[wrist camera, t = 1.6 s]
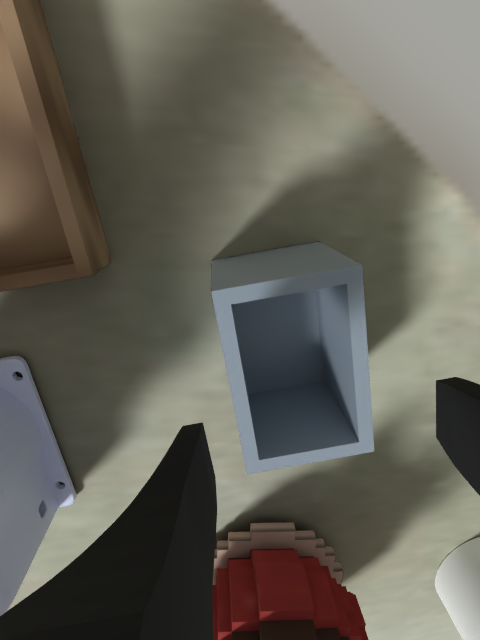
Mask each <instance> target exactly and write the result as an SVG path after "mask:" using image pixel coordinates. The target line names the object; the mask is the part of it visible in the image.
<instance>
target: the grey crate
mask: <svg viewBox="0 0 480 640" xmlns="http://www.w3.org/2000/svg"><path fill="white" fill-rule="evenodd" d="M211 293H212V299H213V304H214V309H215V314H216V319H217V324H218V329H219V334H220V339H221V344H222V350H223V355H224V360H225V365H226V370H227V375H228V380H229V385H230V390H231V395H232V401H233V406H234V411H235V416H236V421H237V426H238V431H239V436H240V441H241V446H242V452H243V457H244V462H245V467H246V472H247V474H253V473H258V472H264V471H270V470H275V469H281V468H286V467H292V466H297V465H303V464H308V463H314V462H319V461H325V460H331V459H336V458H342V457H347V456H353V455H358V454H364V453H369V452H374V438H373V423H372V407H371V392H370V376H369V361H368V345H367V330H366V314H365V299H364V283H363V268H362V264H360V263H358V262H357V261H355V260H353V259H351V258H349V257H347V256H346V255H344V254H342V253H340V252H338V251H336V250H335V249H333V248H331V247H329V246H327V245H325V244H324V243H322V242H320V241H318V242H313V243H307V244H301V245H296V246H290V247H284V248H279V249H273V250H267V251H262V252H256V253H250V254H245V255H239V256H234V257H228V258H222V259H217V260H212V270H211Z"/></svg>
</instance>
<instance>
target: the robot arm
mask: <svg viewBox="0 0 480 640" xmlns="http://www.w3.org/2000/svg"><path fill="white" fill-rule="evenodd" d="M16 372H20V373H21V374H22V375H23V377H19V376H17V375H16ZM436 437H437V439H438V441H439V442H440V444H441V445H442V447H443V449H444V450H445V452H446V454H447V455H448V457H449V458H450V460H451V461H452V463H453V464H454V466H455V467H456V468H457V469H458V470H459V472H460V473H461V474H462V475H463V477H464V478H465V479H466V480H467V481H468V482H469V484H470V485H471V486H472V487H473V488H474V490H475V491H476V492H477V493H478V494H479V495H480V385H479V384H477V383H474V382H471V381H468V380H465V379H461V378H458V377H453V378H448V379H442V380H437V381H436ZM59 482H63V483H64V484H60V483H59ZM75 498H76V492H75V489H74V486H73V484H72V481H71V478H70V476H69V473H68V471H67V468H66V465H65V463H64V460H63V457H62V455H61V452H60V449H59V447H58V444H57V441H56V439H55V436H54V433H53V431H52V428H51V426H50V423H49V420H48V418H47V415H46V412H45V410H44V407H43V404H42V402H41V399H40V396H39V394H38V391H37V389H36V386H35V383H34V381H33V378H32V375H31V373H30V370H29V367H28V365H27V362H26V361H25V359H23V358H22V357H20V356H10V357H5V358H0V640H214V632H213V573H214V555H215V538H216V520H217V497H216V481H215V474H214V470H213V465H212V461H211V457H210V452H209V448H208V443H207V439H206V435H205V430H204V426H203V423H197V424H192V425H186V426H183V427H182V428H181V429H180V431H179V433H178V434H177V436H176V438H175V440H174V441H173V443H172V445H171V446H170V448H169V450H168V451H167V453H166V455H165V456H164V458H163V459H162V461H161V462H160V464H159V465H158V467H157V469H156V470H155V472H154V473H153V475H152V476H151V477H150V479H149V480H148V481H147V483H146V484H145V486H144V487H143V488H142V490H141V491H140V492H139V494H138V495H137V496H136V498H135V499H134V500H133V501H132V503H131V504H130V505H129V506H128V507H127V509H126V510H125V511H124V512H123V513H122V514H121V515H120V516H119V518H118V519H117V520H116V521H115V522H114V523H113V524H112V525H111V526H110V527H109V528H108V529H107V530H106V531H105V532H104V533H103V534H102V535H101V536H100V537H99V538H98V539H97V540H96V541H95V542H94V543H93V544H92V545H90V546H89V547H88V548H87V549H86V550H85V551H84V552H83V553H82V554H81V555H80V556H78V557H77V558H76V559H75V560H74V561H73V562H72V563H70V564H69V565H68V566H67V567H66V568H64V569H63V570H62V571H61V572H59V573H58V574H57V575H56V576H55V577H53V578H52V579H51V580H49V581H48V582H47V583H46V584H44V585H43V586H42V587H40V588H39V589H38V590H36V591H35V592H33V593H32V594H31V595H29V596H28V597H26V598H25V599H24V600H22V601H21V602H20V603H18V604H17V605H15V606H14V607H13V608H11V609H10V610H8V611H7V609H8V608H9V607H10V605H11V603H12V601H13V600H14V598H15V596H16V594H17V592H18V590H19V588H20V586H21V584H22V582H23V579H24V577H25V575H26V573H27V571H28V569H29V567H30V565H31V563H32V561H33V559H34V556H35V554H36V552H37V550H38V548H39V546H40V544H41V542H42V540H43V538H44V536H45V533H46V531H47V529H48V527H49V525H50V523H51V521H52V519H53V517H54V515H55V513H56V511H57V508H58V507H63V506H68V505H71V504H73V503H74V501H75ZM6 611H7V612H6ZM5 612H6V613H5Z"/></svg>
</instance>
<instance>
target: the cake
mask: <svg viewBox="0 0 480 640" xmlns="http://www.w3.org/2000/svg"><path fill="white" fill-rule="evenodd" d="M334 561H335V553H334V550H333V547H332V546H331V547H326V546H325V543H324V539H316V536H315V533H314V531H296V530H295V526H294V523H251V525H250V532H228V541H217V549H215V555H214V573H213V632H214V640H368V637H367V634H366V631H365V625H366V624H365V621H364V618H363V615H362V613H361V610H360V607H359V604H358V601H357V598H356V595H355V594H353V593H350V592H347V589H346V586H341V582H342V576H343V569H342V566H341V563H340V562H334Z"/></svg>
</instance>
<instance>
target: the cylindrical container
mask: <svg viewBox="0 0 480 640" xmlns="http://www.w3.org/2000/svg"><path fill="white" fill-rule="evenodd" d="M435 586H436V591H437V593H438V595H439V597H440V598H441V600H442V602H443V604H444V606H445V608H446V609H447V611H448V613H449V615H450V617H451V619H452V620H453V622H454V624H455V626H456V628H457V630H458V631H459V633H460V635H461V637H462V639H463V640H480V537H477V538H474V539H472V540H470V541H468V542H465V543H464V544H462V545H460V546H459V547H457V548H456V549H455V550H453V551H452V552H451V553H450V554H449V555H448V556H447V557H446V558H445V559H444V561H443V562H442V563H441V565H440V567H439V569H438V571H437V574H436V577H435Z"/></svg>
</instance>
